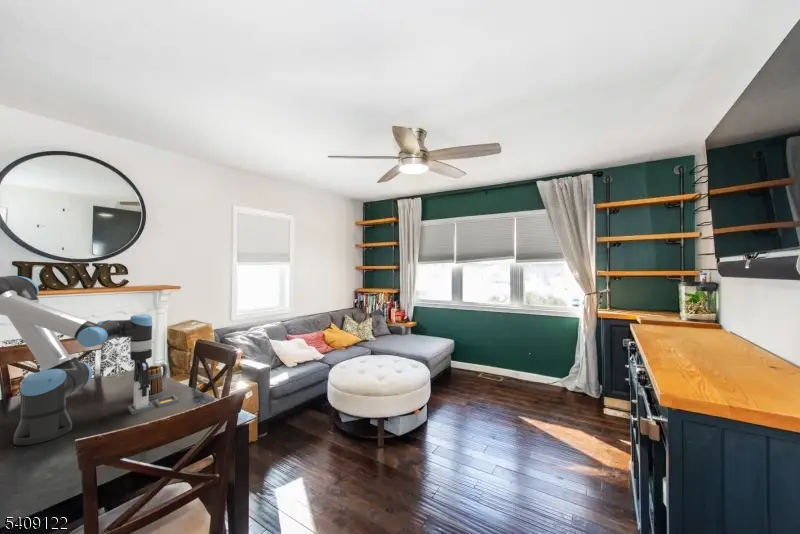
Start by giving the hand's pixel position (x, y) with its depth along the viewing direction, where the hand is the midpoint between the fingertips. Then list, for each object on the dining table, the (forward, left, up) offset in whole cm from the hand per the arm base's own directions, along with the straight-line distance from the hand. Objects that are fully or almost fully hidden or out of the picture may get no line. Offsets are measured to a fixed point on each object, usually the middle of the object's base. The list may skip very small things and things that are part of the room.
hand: (141, 400), depth 145 cm
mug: (+8, +15, -5) cm, 18 cm away
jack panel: (+5, 0, -5) cm, 7 cm away
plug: (0, 0, -4) cm, 4 cm away
